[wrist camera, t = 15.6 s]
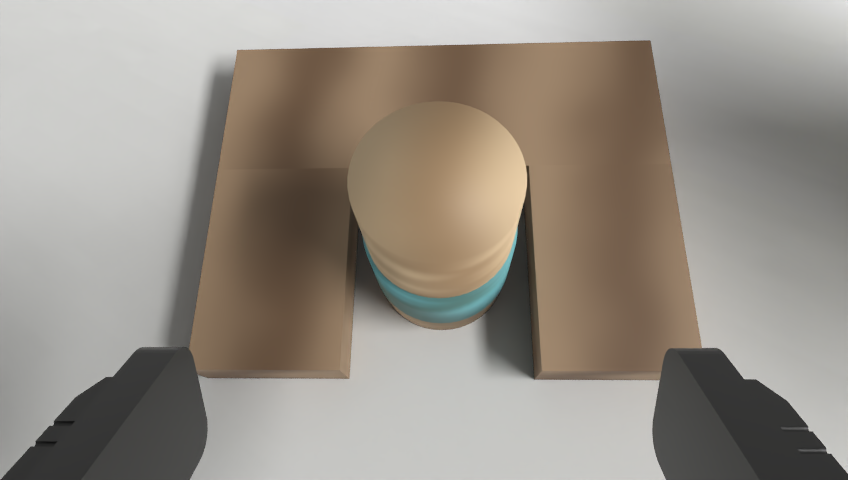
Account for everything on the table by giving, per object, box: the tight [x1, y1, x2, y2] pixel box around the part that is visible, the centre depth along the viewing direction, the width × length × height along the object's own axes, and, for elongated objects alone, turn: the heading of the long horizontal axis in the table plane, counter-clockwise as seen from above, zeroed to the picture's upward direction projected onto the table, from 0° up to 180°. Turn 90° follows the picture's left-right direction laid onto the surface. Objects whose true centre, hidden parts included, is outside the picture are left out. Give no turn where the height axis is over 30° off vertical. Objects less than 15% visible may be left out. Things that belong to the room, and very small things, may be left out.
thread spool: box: [347, 101, 527, 330], centre depth 20 cm, size 5×5×8 cm
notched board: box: [189, 41, 702, 380], centre depth 23 cm, size 18×14×2 cm
